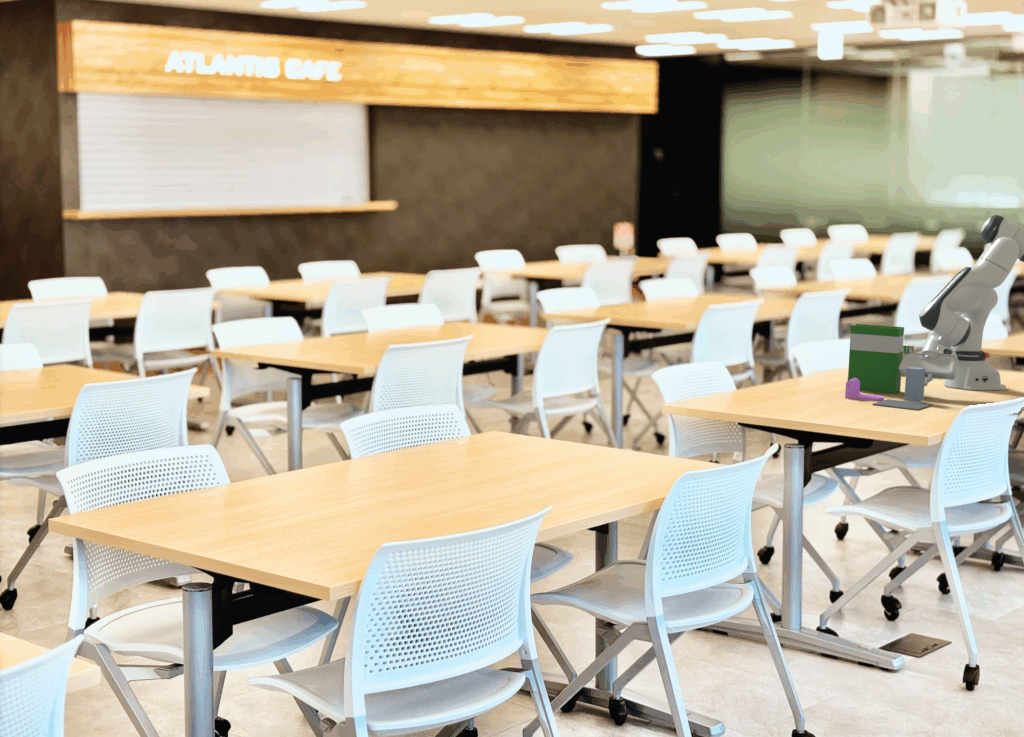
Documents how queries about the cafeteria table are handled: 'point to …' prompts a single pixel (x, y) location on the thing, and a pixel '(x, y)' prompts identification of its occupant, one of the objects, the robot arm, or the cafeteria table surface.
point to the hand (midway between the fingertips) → (922, 384)
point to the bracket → (854, 392)
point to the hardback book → (876, 357)
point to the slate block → (914, 384)
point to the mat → (902, 404)
